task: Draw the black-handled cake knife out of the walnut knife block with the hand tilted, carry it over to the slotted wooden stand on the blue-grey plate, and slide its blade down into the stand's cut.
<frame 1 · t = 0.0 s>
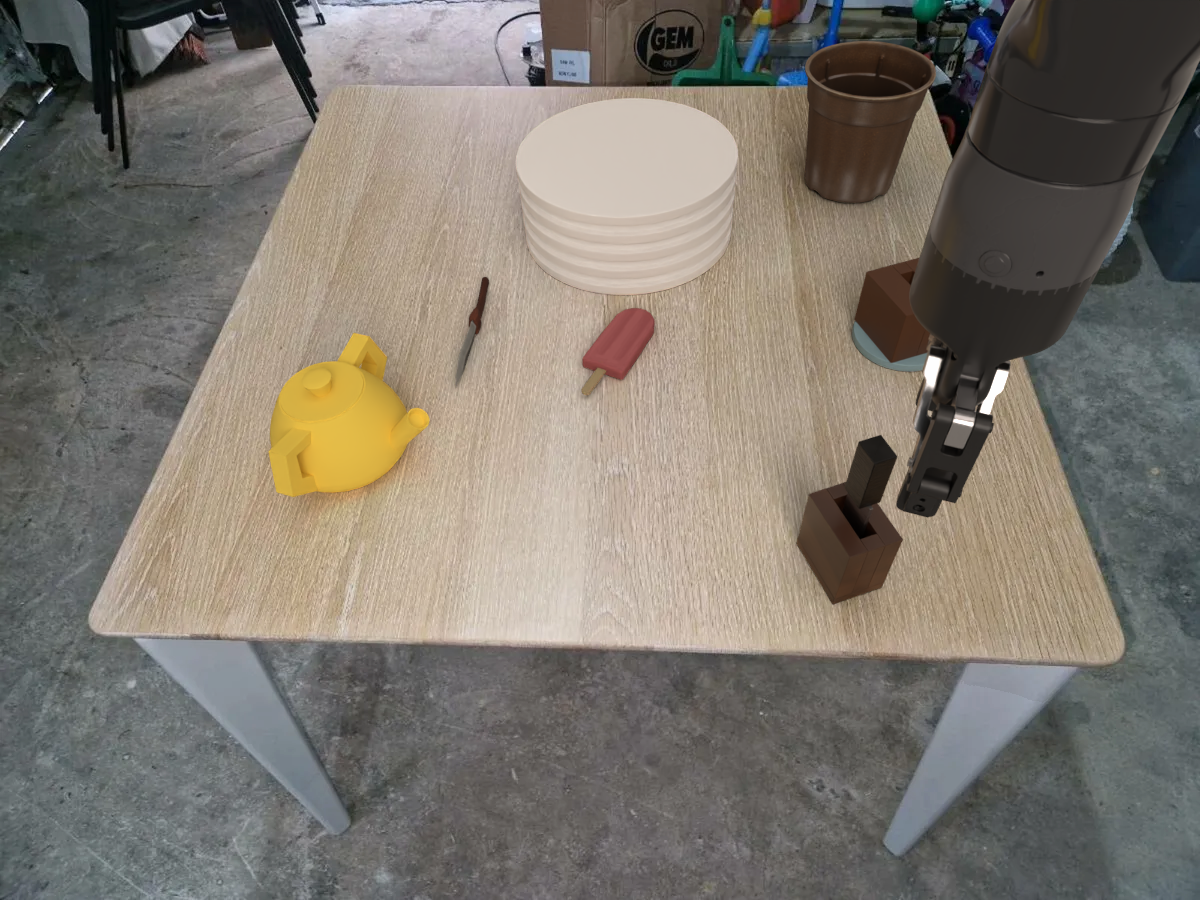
hand: (923, 455, 49), 26 cm above the table, tool pointing down, fingers open, 8 cm apart
knife block: (837, 565, 74), on the table
plant pot: (846, 181, 114), on the table
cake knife: (839, 559, 73), point 1 cm above the table, touching knife block
plate stack: (628, 230, 109), on the table
knife: (474, 341, 96), on the table
slotted wooden stand: (900, 338, 93), on the table
popsicle: (615, 357, 93), on the table
teapot: (366, 453, 86), on the table
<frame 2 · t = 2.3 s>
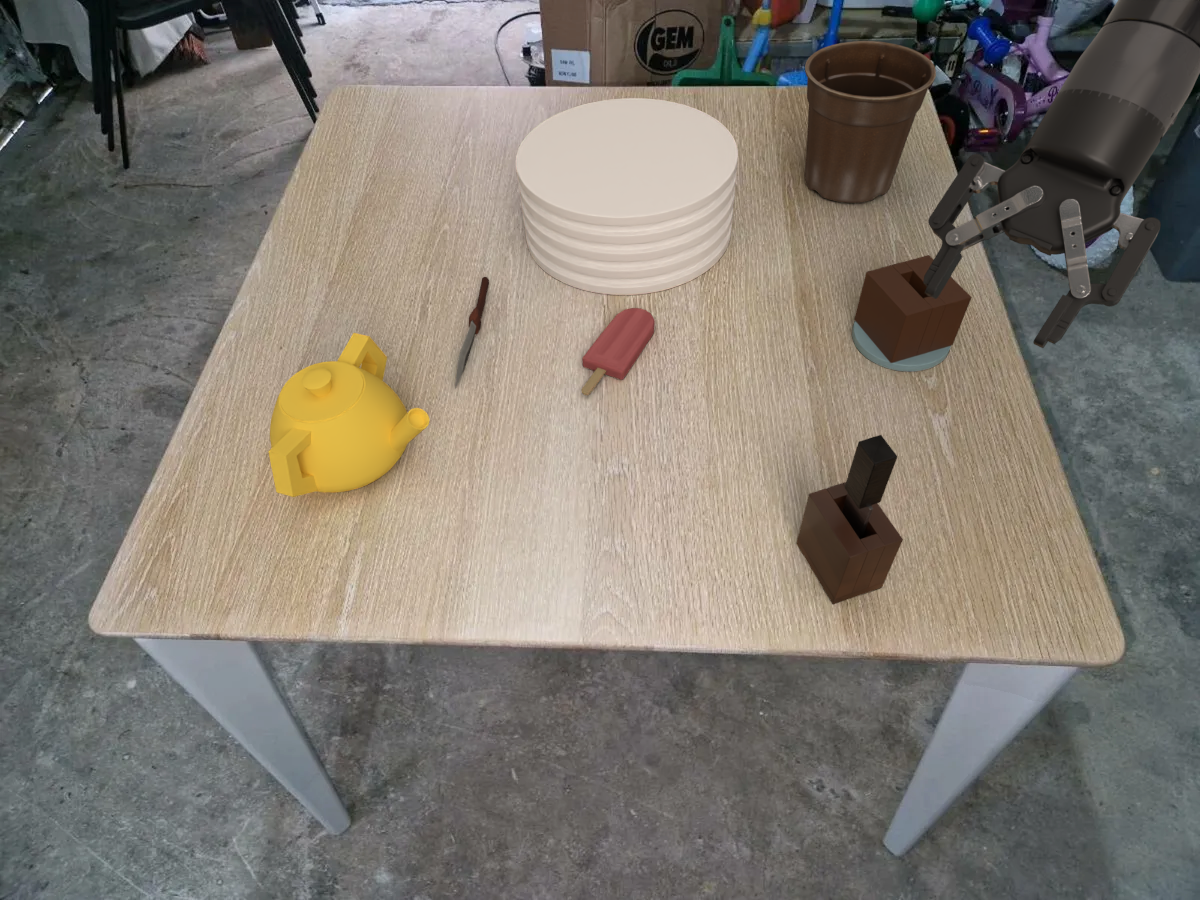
hand: (982, 320, 60), 24 cm above the table, tool tilted 45°, fingers open, 8 cm apart
nothing on the table moved.
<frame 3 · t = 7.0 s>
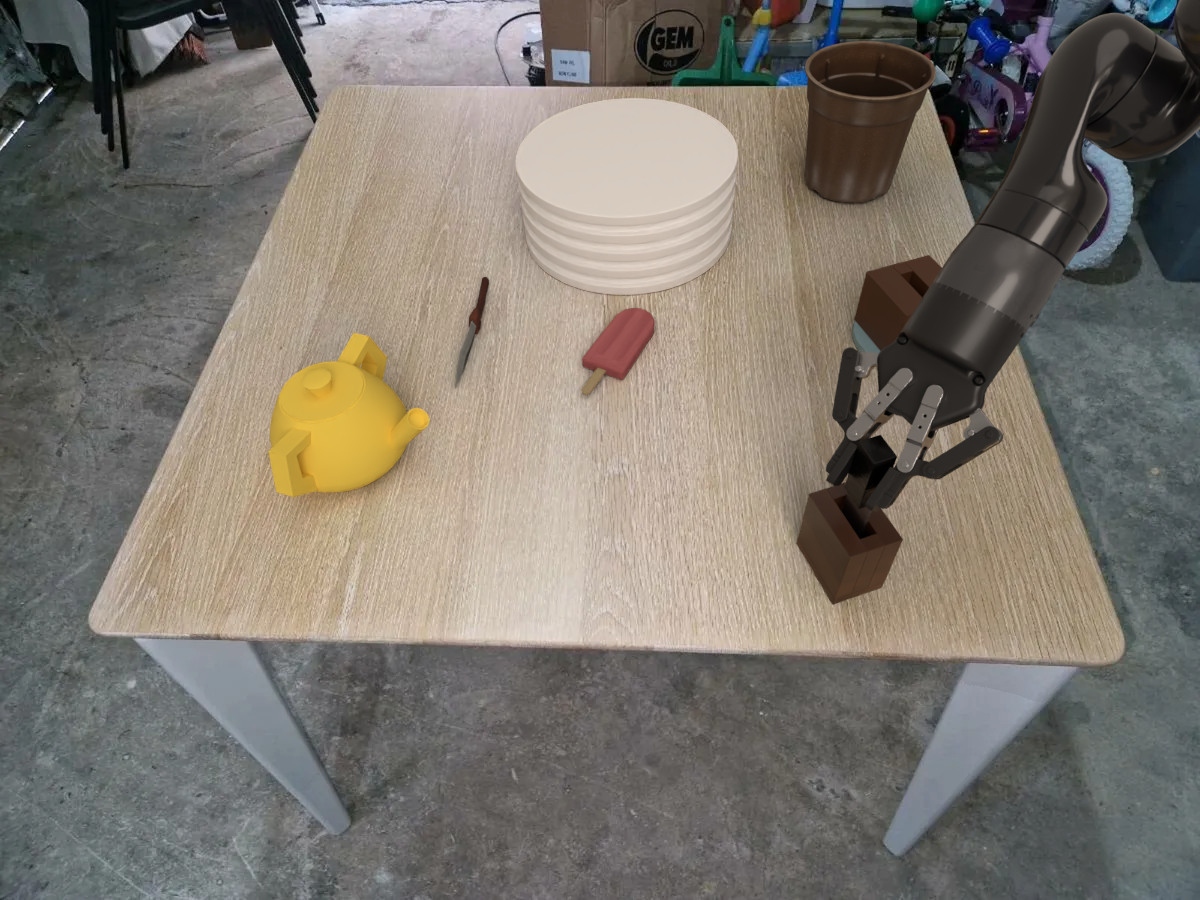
hand: (852, 495, 63), 13 cm above the table, tool tilted 45°, fingers closed on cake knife, 3 cm apart
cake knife: (839, 559, 73), point 1 cm above the table, touching gripper, knife block
everything else where it was.
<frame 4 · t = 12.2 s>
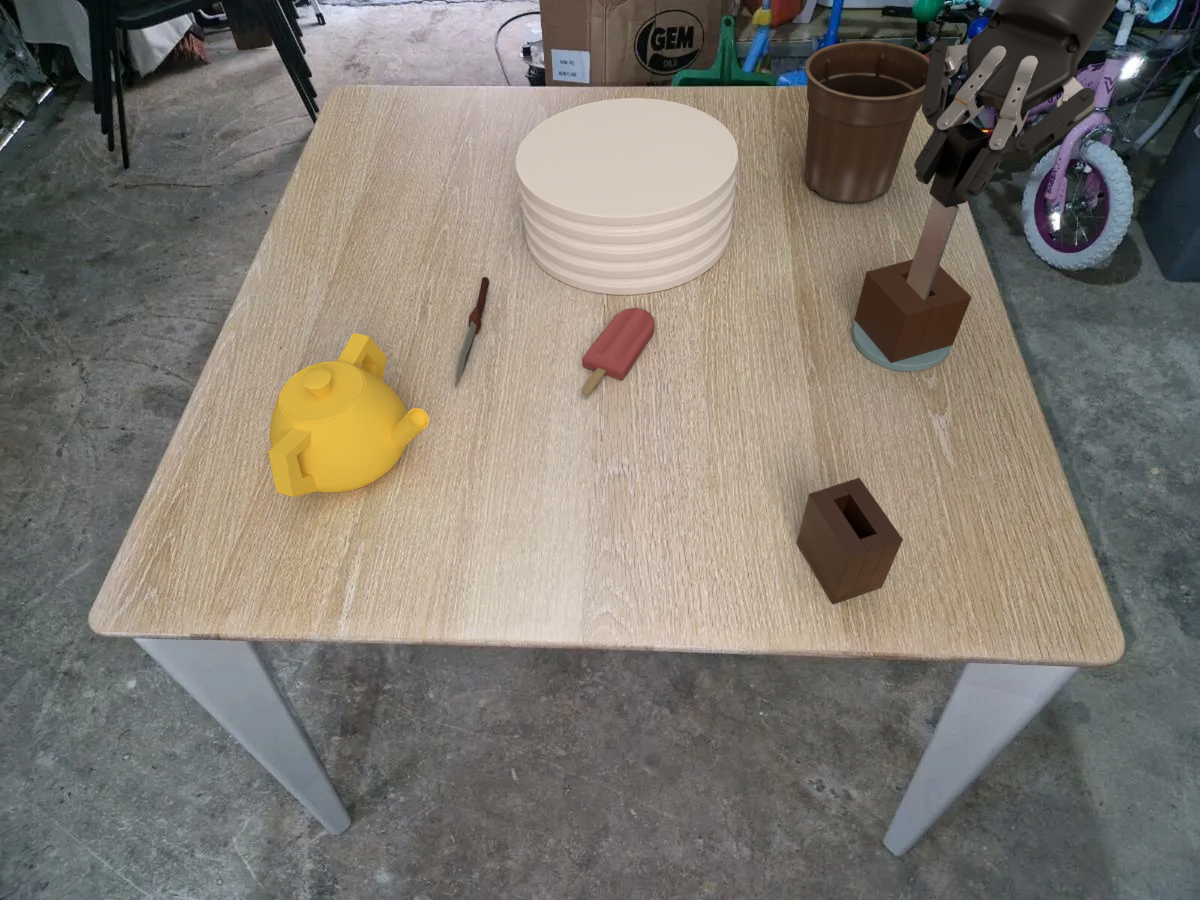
hand: (941, 187, 65), 27 cm above the table, tool tilted 45°, fingers closed on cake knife, 3 cm apart
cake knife: (916, 291, 75), point 15 cm above the table, touching gripper
everything else where it was.
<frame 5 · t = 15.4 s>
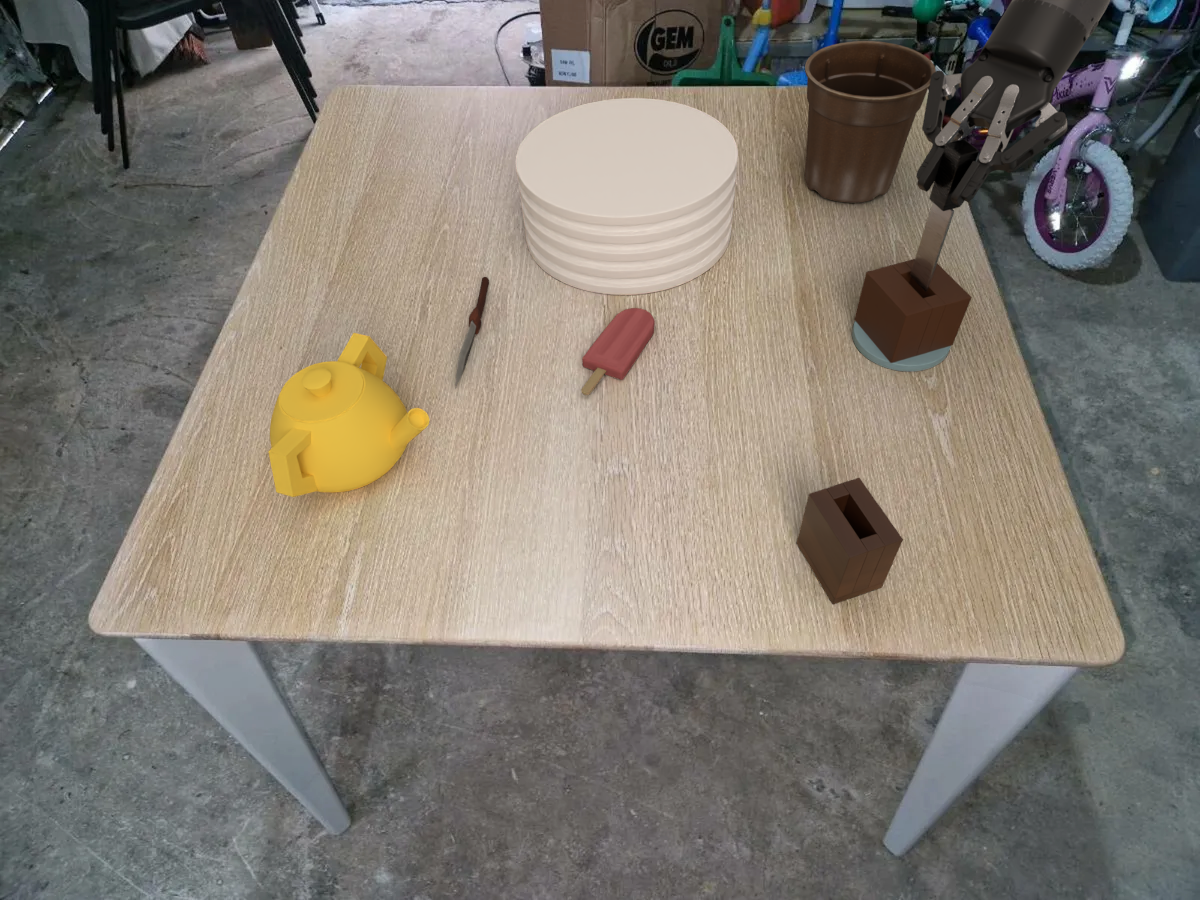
hand: (939, 194, 77), 20 cm above the table, tool tilted 45°, fingers closed on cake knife, 3 cm apart
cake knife: (918, 283, 87), point 8 cm above the table, touching gripper
everything else where it was.
when the fingers open (13 cm above the table, at t = 17.6 s): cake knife stays where it is, resting on slotted wooden stand.
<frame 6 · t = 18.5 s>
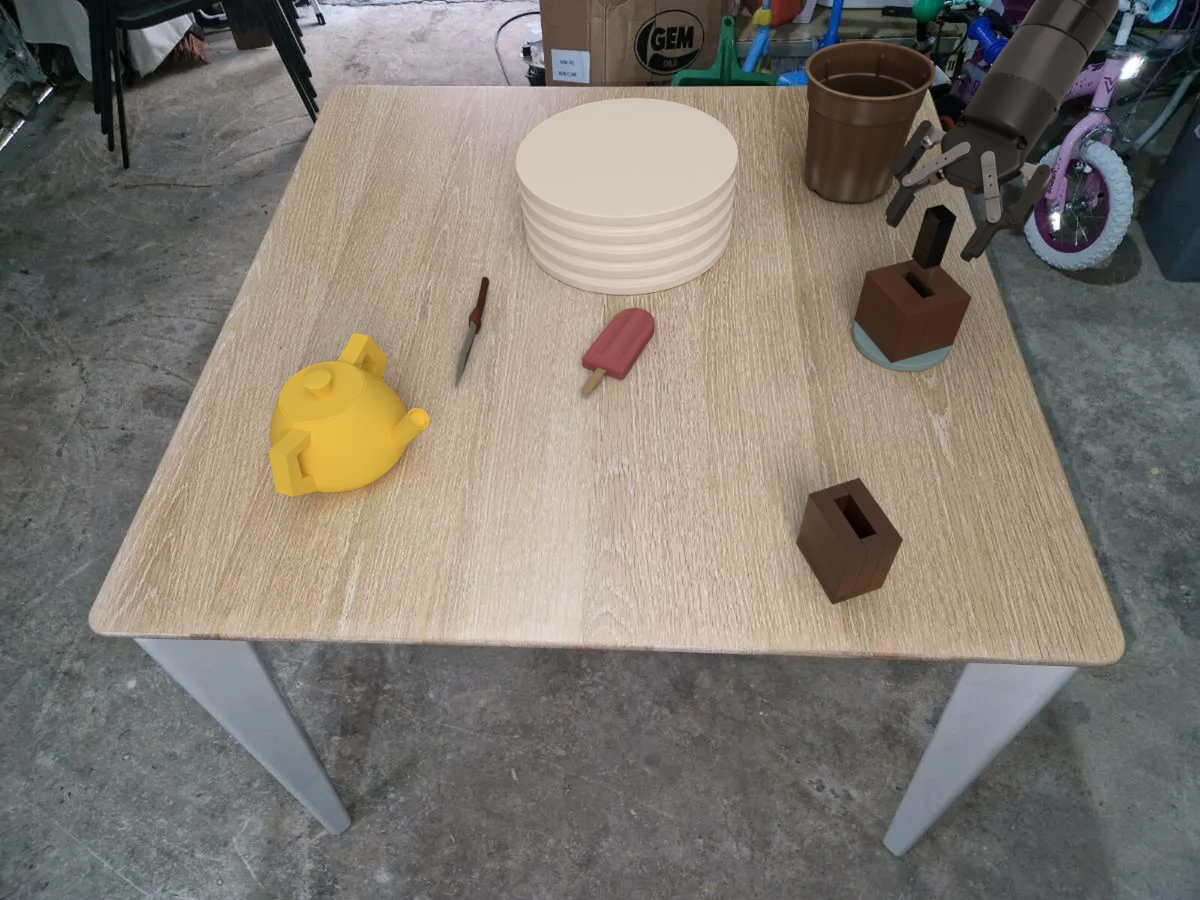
hand: (926, 241, 81), 14 cm above the table, tool tilted 45°, fingers open, 8 cm apart
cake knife: (902, 331, 92), point 1 cm above the table, touching slotted wooden stand
everything else where it was.
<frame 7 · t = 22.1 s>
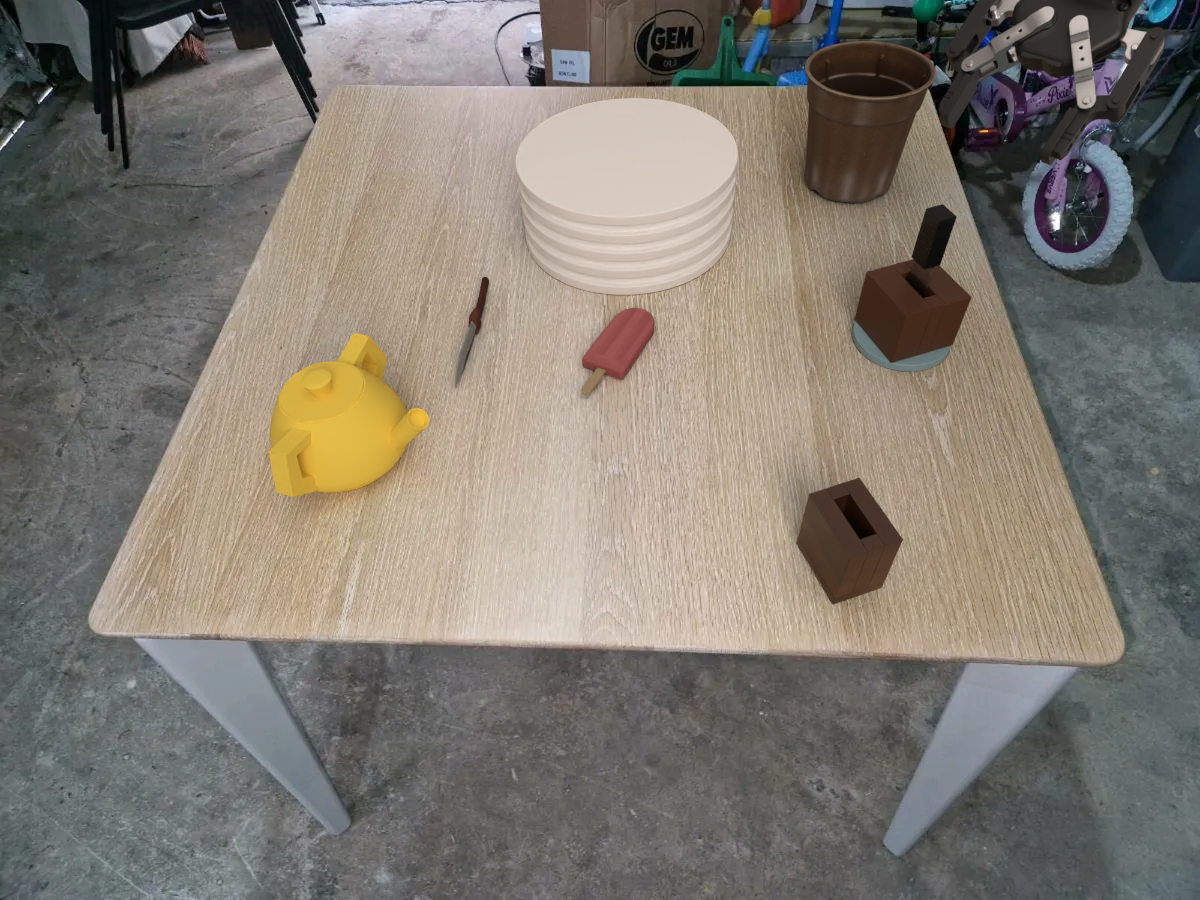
hand: (993, 141, 63), 30 cm above the table, tool tilted 45°, fingers open, 8 cm apart
nothing on the table moved.
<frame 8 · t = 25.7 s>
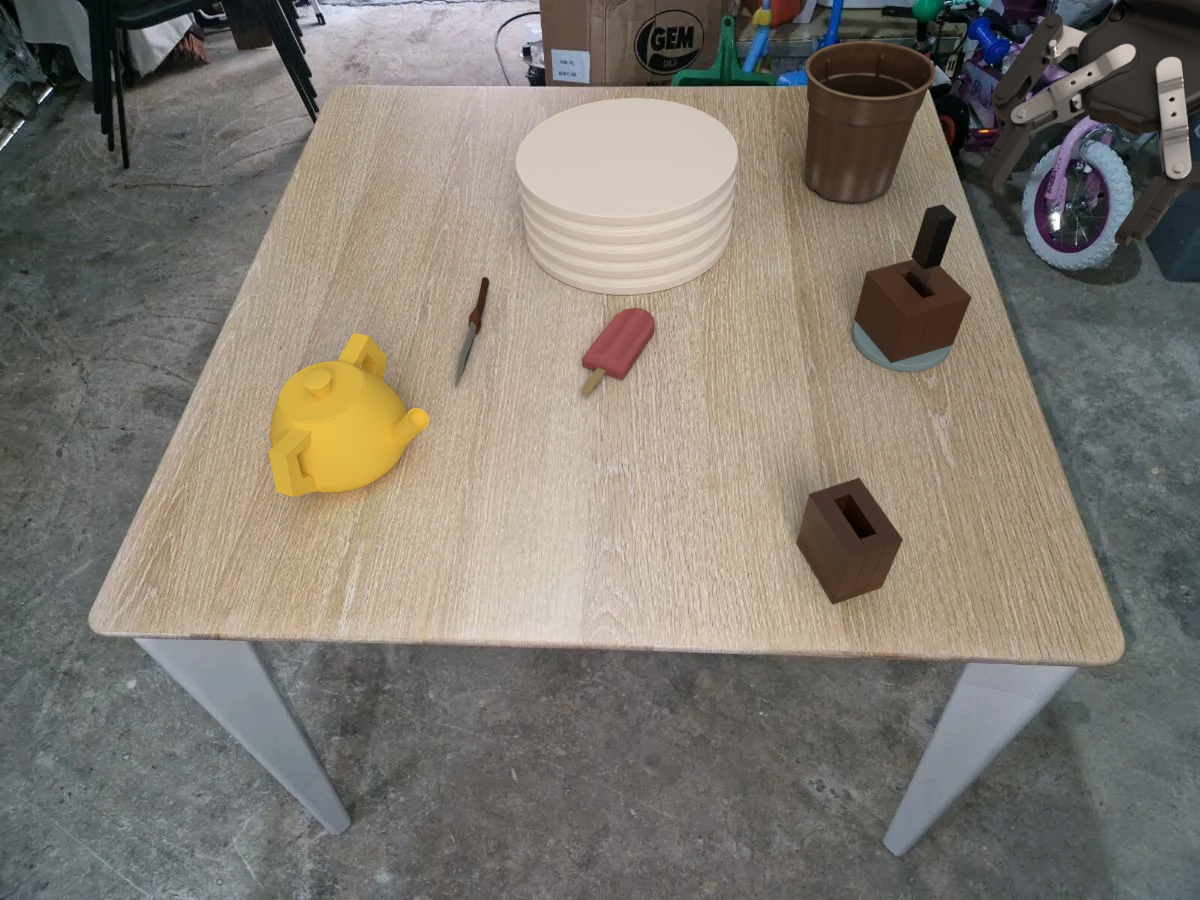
hand: (1052, 213, 50), 35 cm above the table, tool tilted 45°, fingers open, 8 cm apart
nothing on the table moved.
at the end: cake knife 0.1 cm off-centre on the slotted wooden stand, point 1.0 cm above the slotted wooden stand's base; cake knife tilted 0°; the gripper is holding nothing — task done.
